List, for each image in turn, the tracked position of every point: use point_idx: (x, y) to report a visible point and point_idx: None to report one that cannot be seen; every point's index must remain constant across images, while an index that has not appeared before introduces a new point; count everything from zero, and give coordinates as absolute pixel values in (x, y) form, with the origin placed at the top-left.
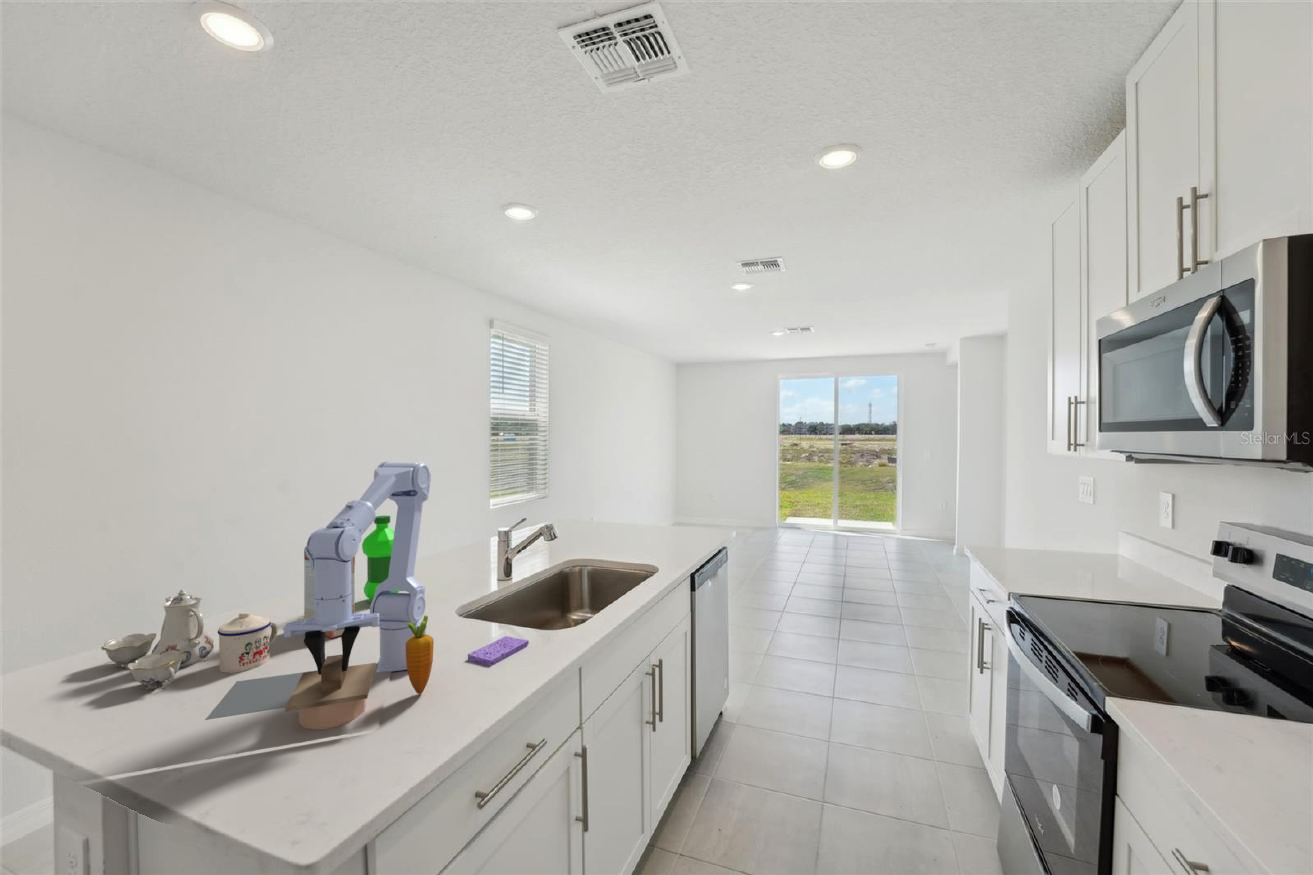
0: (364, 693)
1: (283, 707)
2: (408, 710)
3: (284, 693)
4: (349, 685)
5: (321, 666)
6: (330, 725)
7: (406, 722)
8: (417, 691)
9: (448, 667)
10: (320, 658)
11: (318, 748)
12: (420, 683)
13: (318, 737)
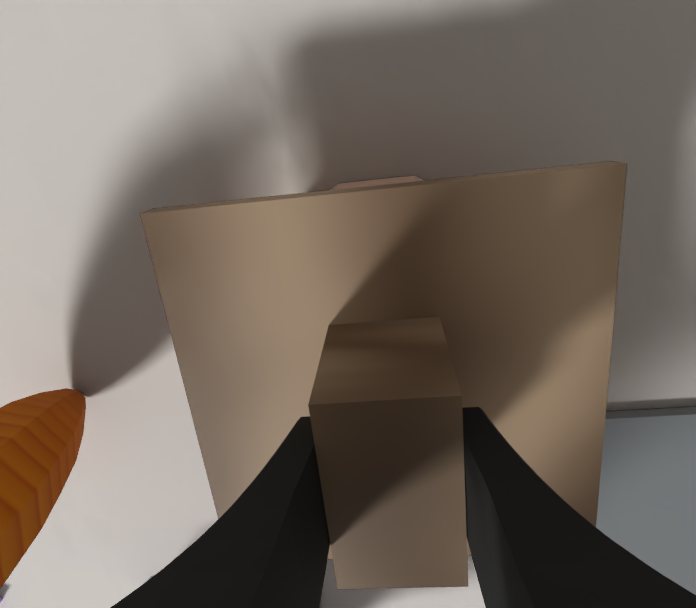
0: (158, 224)
1: (616, 418)
2: (73, 272)
3: (633, 523)
4: (288, 348)
5: (469, 438)
6: (365, 184)
7: (36, 163)
8: (69, 392)
9: (52, 564)
10: (490, 485)
11: (374, 10)
12: (18, 400)
13: (403, 126)
